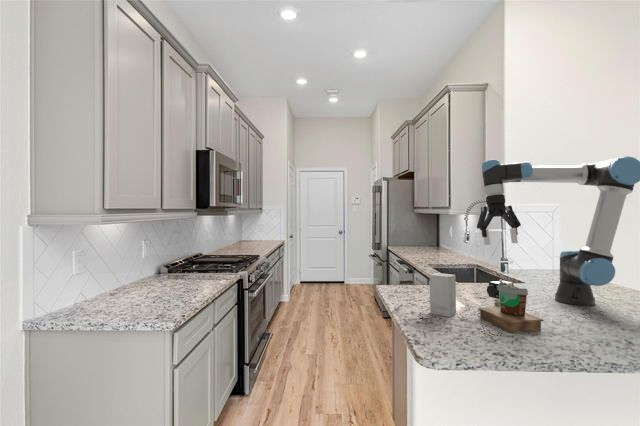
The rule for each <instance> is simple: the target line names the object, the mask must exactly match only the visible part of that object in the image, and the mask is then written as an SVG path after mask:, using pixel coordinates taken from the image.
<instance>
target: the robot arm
mask: <svg viewBox="0 0 640 426" xmlns="http://www.w3.org/2000/svg"><path fill="white" fill-rule="evenodd" d="M481 174H482V180H483V185H484V187H483V188H484V194H485V196H486V197H485V204H486V205H485V206H481V207H480V215H479V218H478V221H477V224H476V229H479V231H481V236H482V238H483V243H484V246H488V245H491V240H490V239H491V238H490V232H489V231H490V230H489V229H488V226H490V223H491V222H492V220H493V218H495V217H500V218H502V219H503V220H504V221H505V222H506V224H508V225H509V227H510V228H509V233H510V239H511V244H518V243H519V241H518V235H519V231H518V228H519V227H521V226H522V224H521V222H520V221H519V219H518V217H517V216H516V212H514V210H513V207H512V204H511V205H510V204H509V205H507V206H506V197H505V195H504V194H505V188H504V184H506V183H507V184H509V183H552V184H553V183H554V184H555V183H559V184H560V183H563V184H565V183H568V184H571V183H572V184H578V185H579V186H593V187H597V189H598V190H599V196H598V198H597V199H598V200H597V203H596V207H595V210H594V214H593V216H592V221H591V224H590V228H589V231H588V235H587V239H586V242H585V246H583V247H581V248H579V250H562V251H561V252H560V254H559V255H560V256H559V283H558V287H557V289H556V292H555V293H554V300H556V301H558V302H560V303H564V304H569V305H576V306H594V305H596V298H595V297H594V292H593V290H592V286H594V287H602V286H605V285H607V284H609V283H611V281H613V279H614V278H615V277H616V268H615V266H614V264H613V261H614V255H613V254H612V253H611V250H612V246H613V243H614V240H615V235H616V233H617V229H618V226H619V222H620V219H621V215H622V212H623V208H624V205H625V202H626V198H627V196H628V195H629V194H631V193H633V191H634V187H635V184H637V183H638V182H640V160H639V159H637V157H636V158H635V157H633V156H629V155H628V156H627V155H625V156H616V157H614V158H609V159H605V160H602V161H598V162H592V163H591V162H590V163H581V164H580V165H536V166H535V165H532V163H531V162H530V161H521V162H520V161H519V162H511V163H501V162H500V160H499V159H488V160H486V161H484V162H483V161H482V164H481Z"/></svg>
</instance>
